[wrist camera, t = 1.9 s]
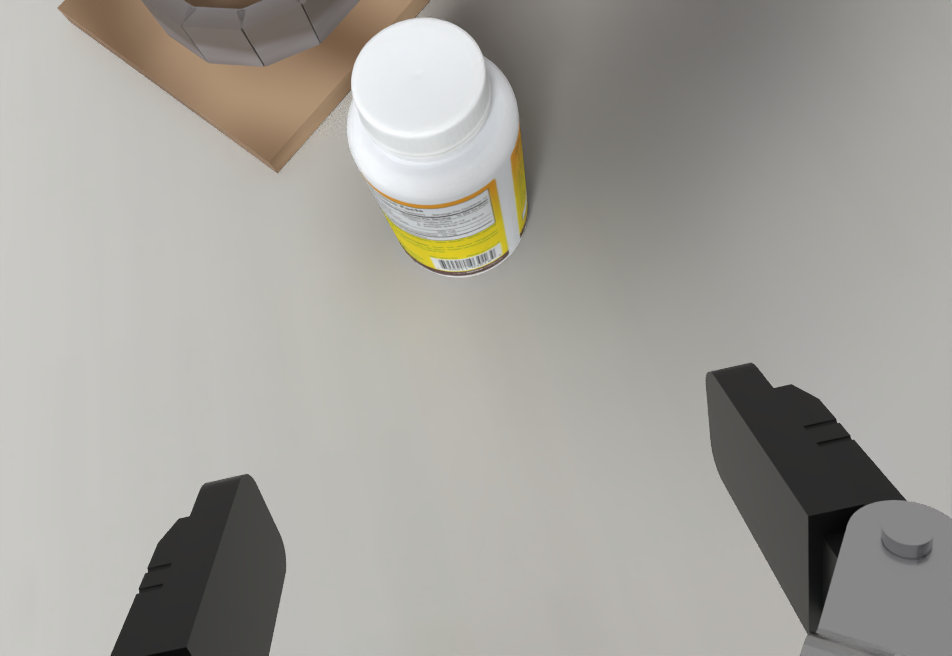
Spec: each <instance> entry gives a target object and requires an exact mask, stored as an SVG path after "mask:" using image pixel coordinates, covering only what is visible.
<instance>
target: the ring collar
mask: <svg viewBox="0 0 952 656" xmlns="http://www.w3.org/2000/svg"><path fill="white" fill-rule="evenodd" d="M429 1H430V0H65V1H64V2H63V3H62V4H61V5H60V6H59V7H58V9H59V10H60V11H61V12H62V13H63V14H64V16H65V17H66V18H67V19H68V20H69V21H70V22H71V23H73V24H74V25H75V26H77V27H78V28H80V29H81V30H82V31H84V32H85V33H86V34H88V35H89V36H90V37H92V38H93V39H95V40H96V41H97V42H99V43H100V44H101V45H103V46H104V47H106V48H107V49H108V50H110V51H111V52H112V53H114V54H115V55H116V56H118V57H119V58H121V59H122V60H123V61H125V62H126V63H127V64H129V65H130V66H132V67H133V68H134V69H136V70H137V71H138V72H140V73H141V74H143V75H144V76H145V77H147V78H148V79H149V80H151V81H152V82H153V83H155V84H156V85H158V86H159V87H160V88H162V89H163V90H164V91H166V92H167V93H169V94H170V95H171V96H173V97H174V98H175V99H177V100H178V101H180V102H181V103H182V104H184V105H185V106H186V107H188V108H189V109H190V110H192V111H193V112H195V113H196V114H197V115H199V116H200V117H201V118H203V119H204V120H206V121H207V122H208V123H210V124H211V125H212V126H214V127H215V128H217V129H218V130H219V131H221V132H222V133H223V134H225V135H226V136H227V137H229V138H230V139H232V140H233V141H234V142H236V143H237V144H238V145H240V146H241V147H243V148H244V149H245V150H247V151H248V152H249V153H251V154H252V155H254V156H255V157H256V158H258V159H259V160H260V161H262V162H263V163H264V164H266V165H267V166H269V167H270V168H271V169H273V170H274V171H275V172H277V173H278V172H279V171H280V170H281V169H282V167H283V166H284V165H285V164H286V163H287V162H288V161H289V160H290V158H291V157H292V156H293V155H294V154H295V153H296V152H297V150H298V149H299V148H300V147H301V146H302V145H303V144H304V143H305V141H306V140H307V139H308V138H309V137H310V136H311V135H312V133H313V132H314V131H315V130H316V129H317V128H318V127H319V126H320V124H321V123H322V122H323V121H324V120H325V119H326V118H327V117H328V115H329V114H330V113H331V112H332V111H333V110H334V109H335V107H336V106H337V105H338V104H339V103H340V102H341V101H342V100H343V98H344V97H345V96H346V95H347V94H348V93H349V92H350V90H351V77H352V71H353V67H354V64H355V61H356V59H357V57H358V55H359V53H360V52H361V50H362V49H363V47H364V46H365V45H366V43H367V42H368V41H369V40H370V39H371V38H372V37H374V36H375V35H376V34H378V33H379V32H380V31H382V30H383V29H385V28H387V27H389V26H390V25H393V24H395V23H397V22H400V21H404V20H408V19H413V18H415V17H416V16H417V15H418V14H419V12H420V11H421V10H422V9H423V8H424V7H425V6H426V4H427V3H428V2H429Z"/></svg>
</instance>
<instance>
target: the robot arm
mask: <svg viewBox="0 0 952 656" xmlns="http://www.w3.org/2000/svg"><path fill="white" fill-rule="evenodd" d="M706 392H707V403H708V415H709V427H710V439H711V447H712V453H713V457H714V461H715V464H716V467H717V470H718V473H719V475H720V477H721V479H722V481H723V483H724V485H725V487H726V488H727V490H728V492H729V494H730V496H731V497H732V499H733V501H734V503H735V505H736V506H737V508H738V510H739V512H740V514H741V515H742V517H743V519H744V521H745V522H746V524H747V526H748V528H749V530H750V531H751V533H752V535H753V537H754V539H755V540H756V542H757V544H758V546H759V548H760V549H761V551H762V553H763V555H764V557H765V558H766V560H767V562H768V564H769V566H770V567H771V569H772V571H773V573H774V575H775V576H776V578H777V580H778V582H779V583H780V585H781V587H782V589H783V591H784V592H785V594H786V596H787V598H788V600H789V601H790V603H791V605H792V607H793V609H794V610H795V612H796V614H797V616H798V618H799V619H800V621H801V623H802V625H803V627H804V628H805V630H806V632H807V634H808V635H807V637H806V639H805V641H804V644H803V647H802V650H801V654H800V656H952V519H951V518H950V517H948V516H947V515H945V514H944V513H942V512H940V511H938V510H936V509H934V508H931V507H929V506H926V505H923V504H919V503H915V502H909V501H906V499H905V498H904V497H903V496H902V495H901V494H900V492H899V491H898V490H897V489H896V488H895V487H894V486H893V484H892V483H891V482H890V481H889V480H888V479H887V477H886V476H885V475H884V474H883V473H882V472H881V470H880V469H879V468H878V467H877V466H876V465H875V463H874V462H873V461H872V460H871V459H870V458H869V457H868V455H867V454H866V453H865V452H864V451H863V450H862V448H861V447H860V446H859V445H858V444H857V443H856V441H855V440H851V437H850V434H849V433H848V432H847V431H846V430H845V429H844V428H843V426H842V425H841V424H840V423H837V421H836V418H835V417H834V416H833V415H832V414H831V412H830V411H829V410H828V409H827V408H826V407H825V405H824V404H823V403H822V402H821V401H820V400H819V399H818V398H816V397H814V396H812V395H811V394H809V393H807V392H805V391H803V390H801V389H799V388H797V387H795V386H794V385H792V384H791V385H786V386H782V387H777V388H773V387H772V386H771V384H770V383H769V382H768V381H767V379H766V378H765V377H764V376H763V374H762V373H761V372H760V370H759V369H758V368H757V367H756V366H755V365H754V364H753V363H747V364H743V365H738V366H734V367H729V368H725V369H720V370H716V371H711V372H708V373H707V375H706ZM285 573H286V555H285V549H284V544H283V541H282V538H281V536H280V533H279V531H278V529H277V527H276V525H275V523H274V521H273V518H272V516H271V514H270V512H269V510H268V508H267V506H266V504H265V501H264V499H263V497H262V495H261V493H260V491H259V489H258V486H257V484H256V482H255V481H254V479H253V478H252V477H251V476H250V475H248V474H244V475H240V476H235V477H231V478H226V479H222V480H218V481H213V482H209V483H205V484H204V485H203V486H202V487H201V489H200V491H199V494H198V496H197V499H196V502H195V504H194V507H193V509H192V512H191V514H190V516H189V517H185V518H180V519H178V520H177V522H176V523H175V524H174V525H173V526H172V527H171V529H170V530H169V531H168V532H167V533H166V534H165V536H164V537H163V538H162V539H161V540H160V541H159V543H158V544H157V547H156V549H155V552H154V554H153V556H152V559H151V561H150V563H149V566H148V573H145V575H144V578H143V580H142V582H141V585H140V587H139V594H136V597H135V599H134V601H133V604H132V606H131V608H130V611H129V613H128V615H127V618H126V620H125V623H124V625H123V627H122V630H121V632H120V634H119V637H118V639H117V641H116V644H115V646H114V649H113V651H112V653H111V656H269V652H270V647H271V642H272V637H273V632H274V627H275V622H276V617H277V613H278V608H279V603H280V598H281V593H282V588H283V583H284V578H285Z"/></svg>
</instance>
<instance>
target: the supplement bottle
mask: <svg viewBox="0 0 952 656" xmlns="http://www.w3.org/2000/svg"><path fill="white" fill-rule="evenodd" d="M351 90H352V95H353V99H352V102H351V105H350V108H349V112H348V119H347V137H348V143H349V147H350V151H351V154H352V156H353V158H354V160H355V163H356V165H357V167H358V168H359V170H360V172H361V174H362V175H363V177H364V179H365V181H366V183H367V184H368V186H369V188H370V190H371V192H372V193H373V195H374V197H375V199H376V201H377V202H378V204H379V206H380V208H381V209H382V211H383V213H384V215H385V217H386V218H387V220H388V222H389V224H390V226H391V228H392V229H393V231H394V233H395V235H396V237H397V238H398V240H399V242H400V244H401V245H402V247H403V249H404V250H405V251H406V253H407V254H408V255H409V256H410V257H411V258H412V259H413V260H414V261H415V262H416V263H417V264H419V265H420V266H422V267H423V268H425V269H426V270H429V271H431V272H433V273H436V274H439V275H442V276H447V277H470V276H475V275H479V274H482V273H485V272H487V271H489V270H491V269H493V268H495V267H496V266H498V265H499V264H501V263H502V262H503V261H505V260H506V259H507V258H508V257H509V256H510V255H511V254H512V253H513V251H514V250H515V249H516V247H517V246H518V244H519V243H520V241H521V239H522V237H523V234H524V232H525V229H526V225H527V219H528V200H527V190H526V181H525V171H524V161H523V151H522V140H521V130H520V121H519V112H518V106H517V101H516V98H515V94H514V92H513V89H512V87H511V85H510V83H509V81H508V80H507V78H506V77H505V75H504V74H503V73H502V72H501V70H500V69H499V68H498V67H497V66H496V65H495V64H494V63H492V62H491V61H490V60H489V59H487V58H486V57H484V56H483V54H482V52H481V50H480V48H479V46H478V45H477V43H476V42H475V40H474V39H473V38H472V37H471V36H470V35H469V34H468V33H467V32H466V31H464V30H463V29H462V28H460V27H458V26H457V25H455V24H452V23H450V22H448V21H444V20H440V19H435V18H413V19H408V20H404V21H400V22H397V23H395V24H393V25H390V26H389V27H387V28H385V29H383V30H382V31H380V32H379V33H378V34H376V35H375V36H374V37H372V38H371V39H370V40H369V41H368V42H367V43H366V45H365V46H364V47H363V49H362V50H361V52H360V53H359V55H358V57H357V59H356V61H355V64H354V67H353V71H352V77H351Z"/></svg>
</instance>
